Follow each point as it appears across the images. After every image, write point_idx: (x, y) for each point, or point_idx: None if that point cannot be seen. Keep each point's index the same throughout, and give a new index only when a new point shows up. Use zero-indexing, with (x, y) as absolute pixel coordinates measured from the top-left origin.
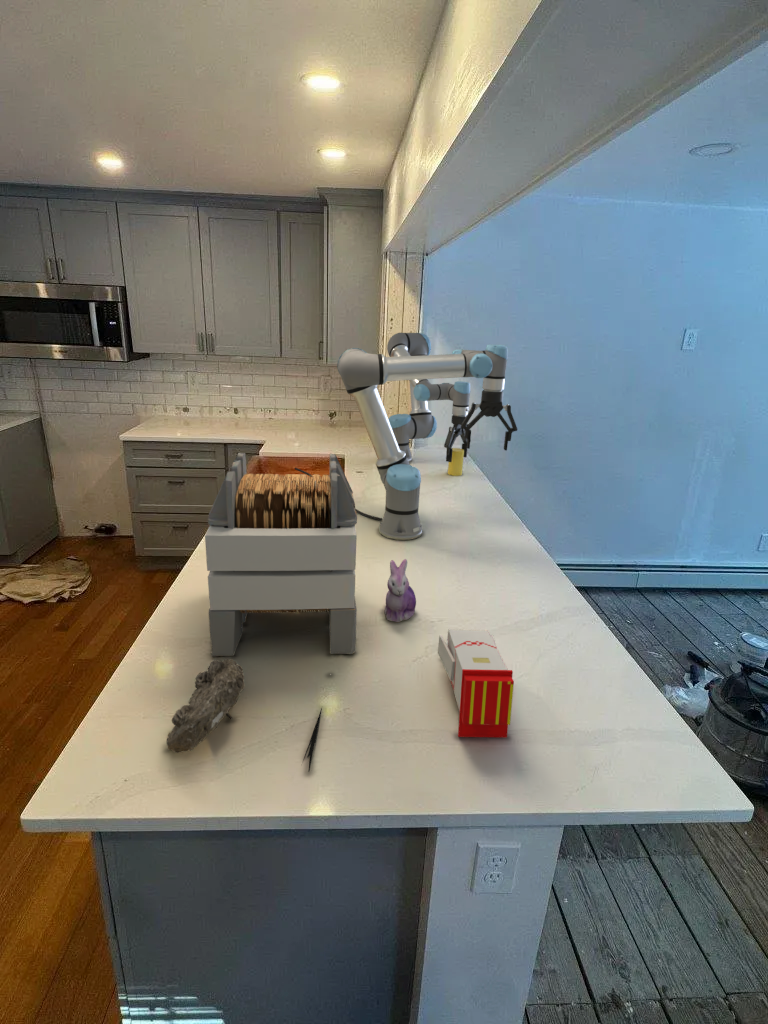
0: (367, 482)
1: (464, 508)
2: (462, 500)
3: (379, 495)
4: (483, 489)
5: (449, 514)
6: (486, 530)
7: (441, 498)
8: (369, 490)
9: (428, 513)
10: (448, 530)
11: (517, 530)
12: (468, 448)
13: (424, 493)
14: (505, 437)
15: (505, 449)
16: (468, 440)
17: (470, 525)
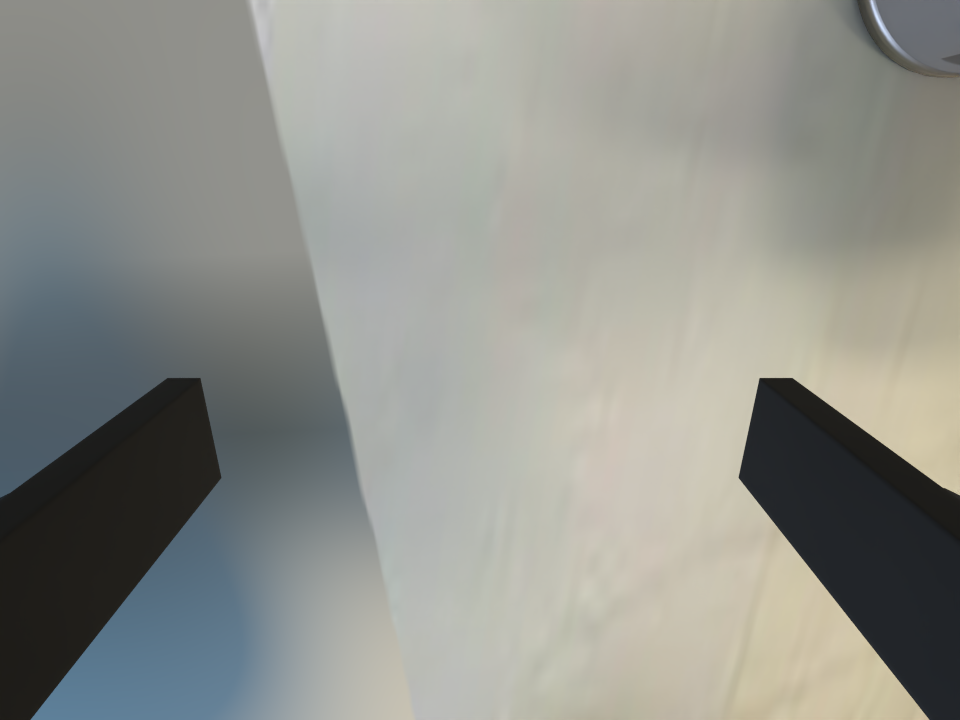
0: None
1: (536, 388)
2: (530, 493)
3: None
4: (414, 639)
5: (629, 289)
6: (460, 59)
7: (629, 505)
8: None
9: (739, 287)
10: (682, 22)
11: (284, 89)
12: (777, 378)
13: (699, 556)
14: (84, 576)
15: (182, 384)
16: (880, 445)
17: (541, 131)
